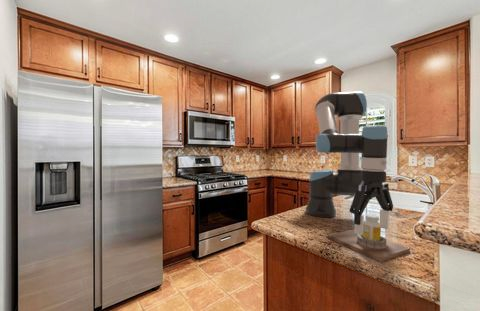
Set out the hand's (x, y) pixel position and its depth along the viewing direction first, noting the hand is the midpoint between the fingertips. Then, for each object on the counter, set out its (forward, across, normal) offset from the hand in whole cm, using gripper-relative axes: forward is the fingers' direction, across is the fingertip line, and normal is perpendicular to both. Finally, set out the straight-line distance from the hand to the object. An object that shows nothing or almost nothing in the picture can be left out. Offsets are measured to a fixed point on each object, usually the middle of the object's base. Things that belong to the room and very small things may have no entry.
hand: (371, 230), depth 77 cm
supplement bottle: (+4, 0, 0) cm, 5 cm away
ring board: (+6, 0, +2) cm, 6 cm away
